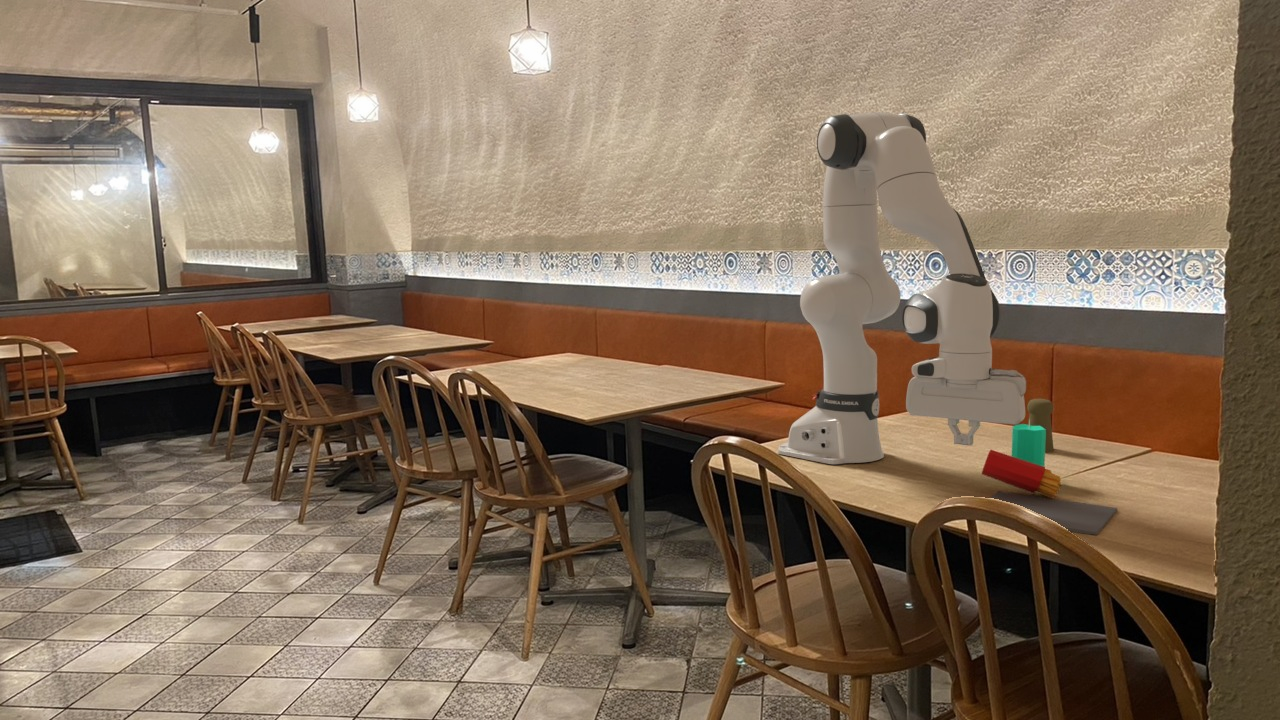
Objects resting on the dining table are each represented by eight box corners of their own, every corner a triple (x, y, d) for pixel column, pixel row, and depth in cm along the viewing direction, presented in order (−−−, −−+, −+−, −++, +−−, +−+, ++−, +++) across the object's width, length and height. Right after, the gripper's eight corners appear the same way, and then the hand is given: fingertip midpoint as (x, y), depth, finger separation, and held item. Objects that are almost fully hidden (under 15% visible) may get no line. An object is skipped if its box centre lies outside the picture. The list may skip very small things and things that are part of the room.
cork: (1058, 452, 212) (1060, 401, 211) (1029, 452, 212) (1031, 402, 211) (1047, 445, 218) (1049, 396, 217) (1019, 446, 218) (1021, 397, 217)
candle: (1040, 486, 186) (1043, 423, 184) (1007, 482, 189) (1009, 420, 187) (1046, 479, 191) (1049, 418, 189) (1014, 475, 194) (1016, 415, 192)
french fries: (987, 455, 185) (1059, 480, 181) (980, 476, 184) (1051, 502, 180) (992, 445, 176) (1067, 471, 172) (984, 468, 176) (1059, 494, 171)
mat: (970, 515, 169) (970, 512, 169) (997, 493, 181) (998, 491, 181) (1096, 535, 157) (1096, 532, 157) (1117, 510, 170) (1117, 507, 170)
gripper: (1031, 368, 170) (1029, 447, 172) (916, 361, 182) (915, 435, 184) (1021, 373, 165) (1018, 454, 167) (903, 365, 177) (902, 441, 179)
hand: (963, 444), depth 176 cm, fingers closed
